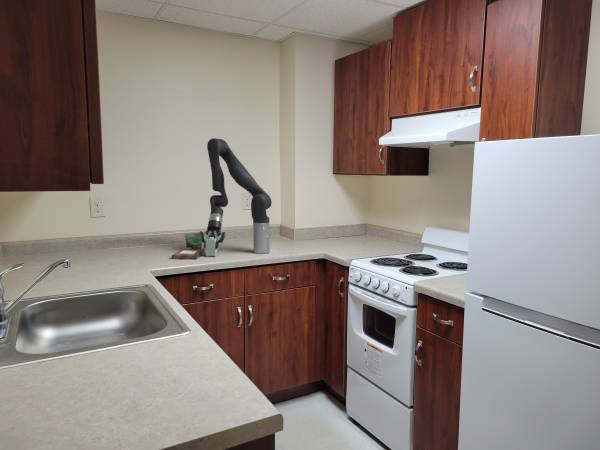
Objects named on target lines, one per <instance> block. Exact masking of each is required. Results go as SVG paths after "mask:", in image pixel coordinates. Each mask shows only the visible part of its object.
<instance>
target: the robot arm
mask: <svg viewBox="0 0 600 450" xmlns="http://www.w3.org/2000/svg"><path fill="white" fill-rule="evenodd" d="M206 146H207V147H206V148H207V153H208V158H209V159H208V160H209V164H210V171H211V182H212V183H211V187H212V190H213V191H214V192H219V193H220V194H213V195H211V196H210V199H209V204H210V205H209V206H210V215H209V218H208V222H207V227H206V231H202V232H201V240H202V244H203V249H205V250H206V239H208V237H214V238H216V243H215V249H217V250H218V248H219V245H220V243H221V244H222V243H224V240H225V238H226V236H227V235H226V232H225V231H222V226H223V216H224V208H225V207H227V206H228V205H229V199H228V195H227V192H226V188H225V176H224V175H225V174H224V172H223V168H222V166H221V163H220V158H222V160H223V161H224V163H225V164H226V166H227V170H228V173H229V175H230V177H231V178H232V179H233V180H234V182H235V183H236V184H237V185H238V186H240V187H241V188H242V189H244V190H246V192H247V193H249V194H250V196H252V197H251V202H250V210H251V211H250V212H251V219H252V230H253V231H252V236H253V237H252V238H253V239H252V245H253V246H252V247H253V250H252V251H253V254H270V252H271V235H270V217H269V216H268V215H267V210H269V209H270V208H271V207H272V203H273V201H272V198H271V196H270V195H269V194H268V193H267V192H266V191H265V190H264V189H263V188H262V187H261V186H260V185H259V183H258V182H257V181H256V180H255V178H254V177H253V176H252V175H251V174H250V172H249V171H248V170H247V168H246V166H244V165H243V164H242V162H241V161H240V160H239V159H238V158H237V156H236V154H234V151H232V149H231V147H230V145H228V142H226V141H225V140H224V139H222V138H210V139H209V140H208V142H207V144H206ZM205 236H206V237H205ZM219 237H220V238H219Z"/></svg>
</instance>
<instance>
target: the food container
mask: <svg viewBox="0 0 600 450" xmlns="http://www.w3.org/2000/svg"><path fill="white" fill-rule="evenodd" d="M201 232H203V231H201V230H199V232H192V233H184V239H185V247H186V249H203V247H202V245H203V243H202V240H201Z"/></svg>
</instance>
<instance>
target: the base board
mask: <svg viewBox="0 0 600 450" xmlns="http://www.w3.org/2000/svg"><path fill="white" fill-rule="evenodd" d="M203 254H206V249H205V248H202V249H187V248H180V249H179V250H178V251H176V252H175V253H172V255H171V259H172V260H197V259H199V258H200V257H201V256H203Z"/></svg>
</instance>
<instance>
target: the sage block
mask: <svg viewBox="0 0 600 450" xmlns="http://www.w3.org/2000/svg"><path fill="white" fill-rule="evenodd" d="M205 239H206V238H205ZM215 243H216V238H214V237H208V239H206V249H205V257H216V256H217V255H218V248H217V249H215Z"/></svg>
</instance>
